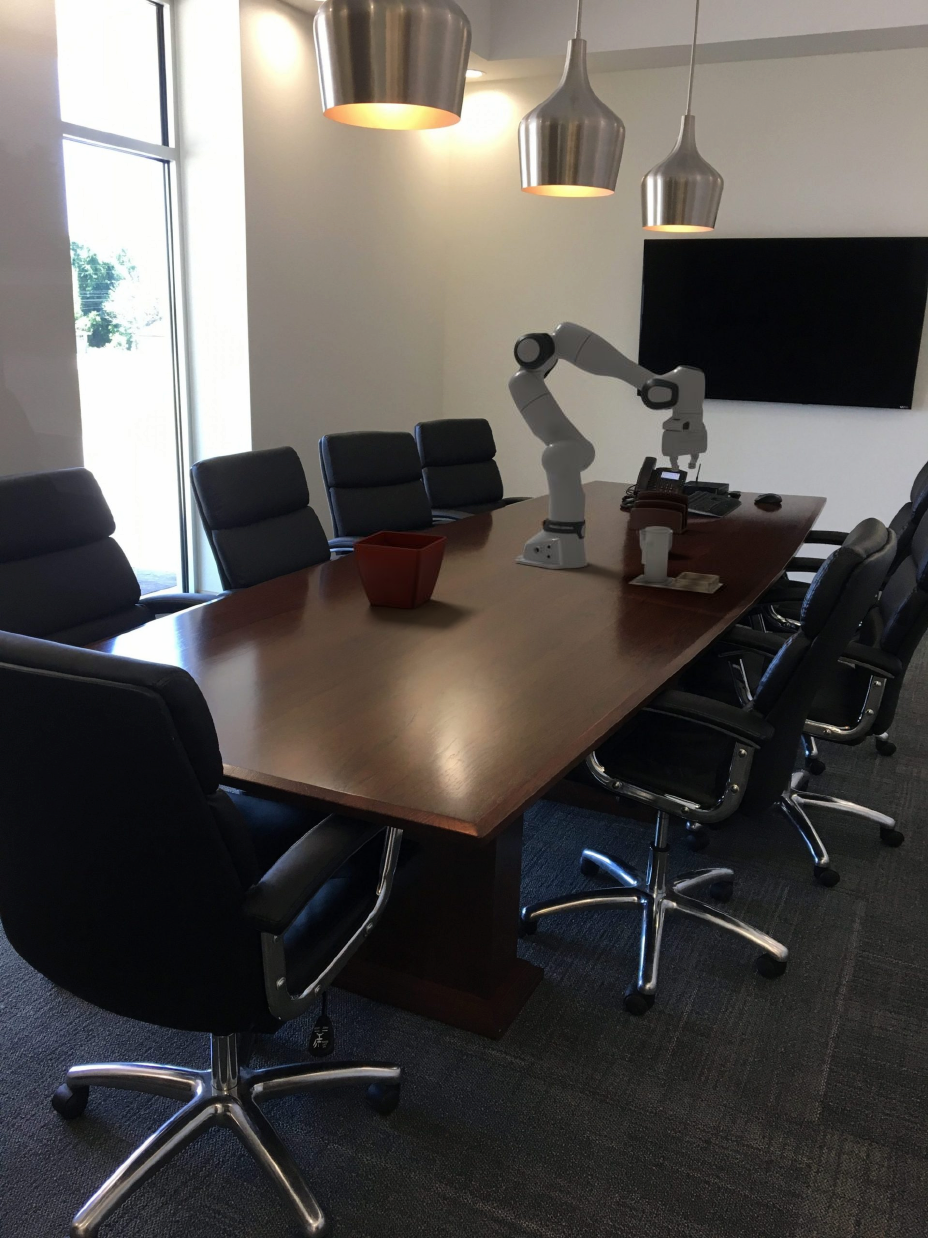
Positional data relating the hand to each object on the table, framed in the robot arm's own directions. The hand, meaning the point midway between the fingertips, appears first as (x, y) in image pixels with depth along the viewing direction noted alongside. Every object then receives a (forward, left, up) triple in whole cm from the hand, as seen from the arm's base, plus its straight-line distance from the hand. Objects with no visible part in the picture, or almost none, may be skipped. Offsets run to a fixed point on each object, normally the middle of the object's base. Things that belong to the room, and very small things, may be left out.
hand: (683, 470), depth 297 cm
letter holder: (-25, +70, -32) cm, 81 cm away
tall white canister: (-1, -21, -29) cm, 36 cm away
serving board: (+5, -20, -31) cm, 37 cm away
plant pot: (-55, -73, -31) cm, 97 cm away
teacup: (-14, +26, -31) cm, 43 cm away
